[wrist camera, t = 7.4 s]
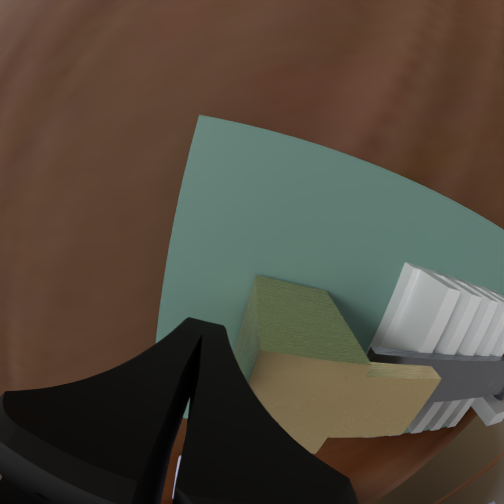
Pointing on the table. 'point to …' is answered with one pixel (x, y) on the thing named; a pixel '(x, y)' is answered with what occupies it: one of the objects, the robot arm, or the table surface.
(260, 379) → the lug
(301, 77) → the table surface
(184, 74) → the table surface
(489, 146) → the table surface
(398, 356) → the strap
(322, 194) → the board
